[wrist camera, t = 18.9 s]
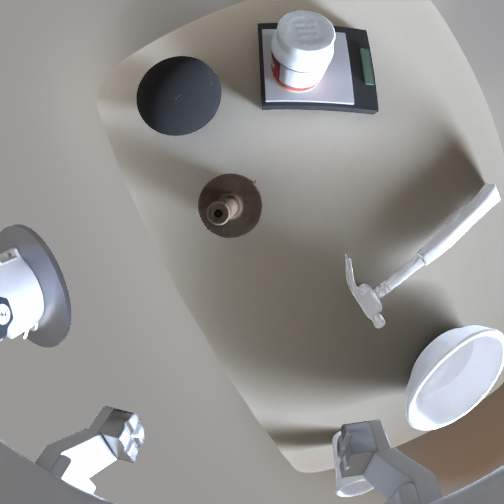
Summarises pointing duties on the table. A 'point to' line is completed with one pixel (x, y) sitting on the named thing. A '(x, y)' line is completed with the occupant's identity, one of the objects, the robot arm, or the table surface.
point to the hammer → (422, 253)
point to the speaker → (178, 95)
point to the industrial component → (230, 205)
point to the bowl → (453, 375)
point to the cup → (348, 484)
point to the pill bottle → (301, 50)
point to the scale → (325, 76)
